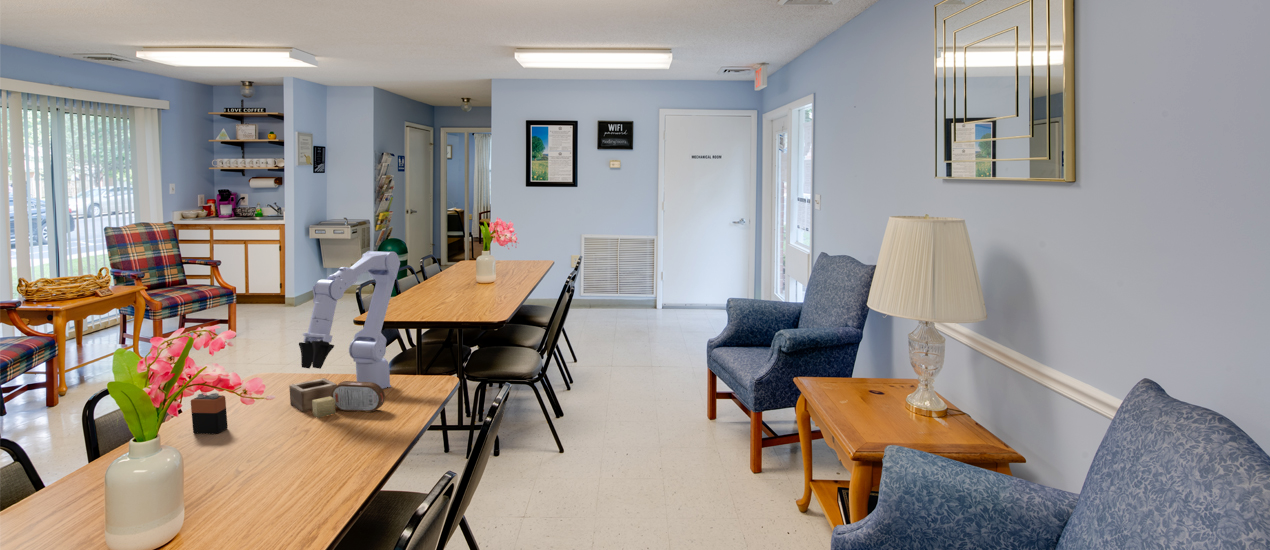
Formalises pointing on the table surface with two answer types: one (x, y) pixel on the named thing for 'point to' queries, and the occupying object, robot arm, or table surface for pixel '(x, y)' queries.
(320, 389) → the coin box
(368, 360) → the robot arm
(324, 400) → the olive yellow block
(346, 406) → the tin
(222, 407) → the battery
